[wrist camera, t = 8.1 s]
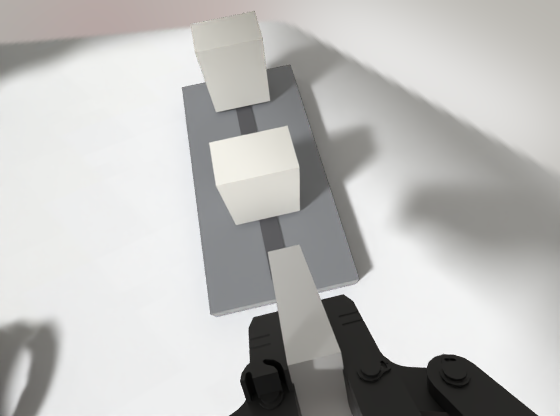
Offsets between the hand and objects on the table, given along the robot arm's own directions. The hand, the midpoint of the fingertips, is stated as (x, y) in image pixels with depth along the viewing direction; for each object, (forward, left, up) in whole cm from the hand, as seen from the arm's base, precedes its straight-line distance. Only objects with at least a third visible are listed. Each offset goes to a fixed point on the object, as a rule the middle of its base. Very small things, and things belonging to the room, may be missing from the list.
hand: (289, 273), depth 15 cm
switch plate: (-13, +4, -13) cm, 19 cm away
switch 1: (-21, +7, -10) cm, 24 cm away
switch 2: (-9, +3, -10) cm, 14 cm away
